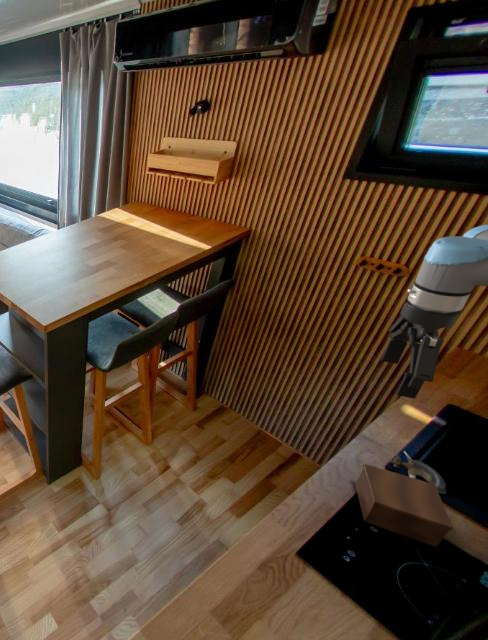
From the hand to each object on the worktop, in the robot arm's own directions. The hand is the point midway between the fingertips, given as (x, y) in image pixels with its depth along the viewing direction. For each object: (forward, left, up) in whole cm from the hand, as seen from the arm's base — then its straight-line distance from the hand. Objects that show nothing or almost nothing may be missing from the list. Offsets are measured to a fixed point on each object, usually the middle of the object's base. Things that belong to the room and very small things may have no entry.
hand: (396, 377), depth 88 cm
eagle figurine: (-10, +3, -29) cm, 31 cm away
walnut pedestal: (-3, +17, -29) cm, 33 cm away
